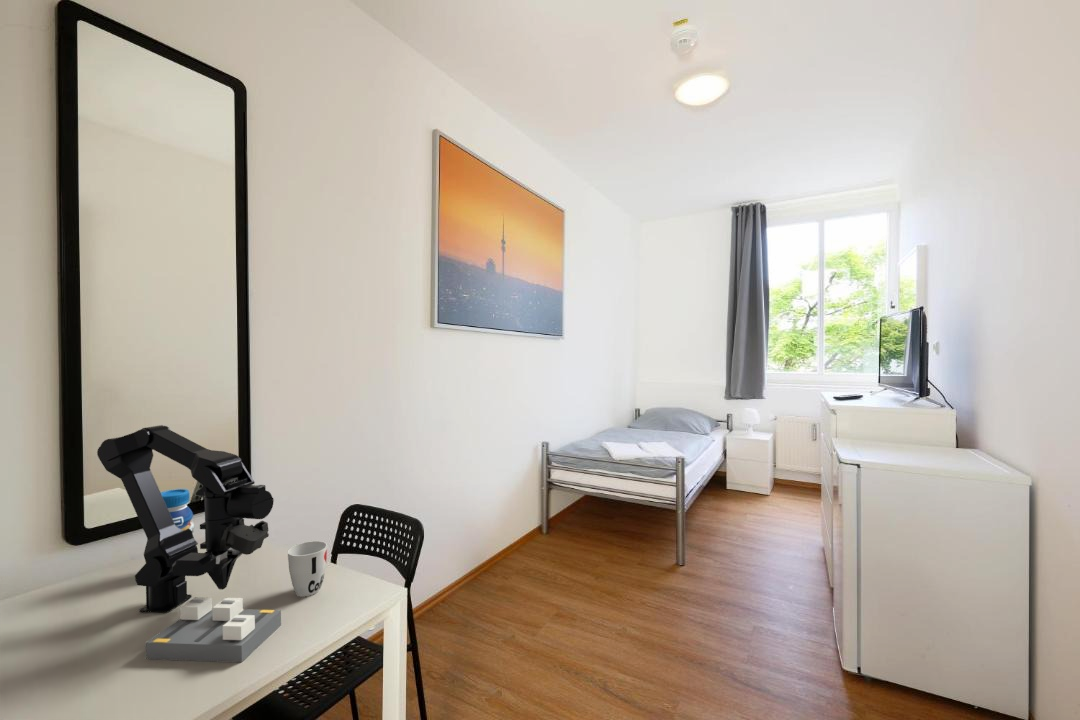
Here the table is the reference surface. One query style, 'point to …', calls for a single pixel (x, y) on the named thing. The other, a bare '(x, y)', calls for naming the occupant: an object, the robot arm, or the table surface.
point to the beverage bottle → (179, 508)
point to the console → (211, 639)
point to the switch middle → (227, 609)
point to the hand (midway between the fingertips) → (222, 588)
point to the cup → (307, 567)
